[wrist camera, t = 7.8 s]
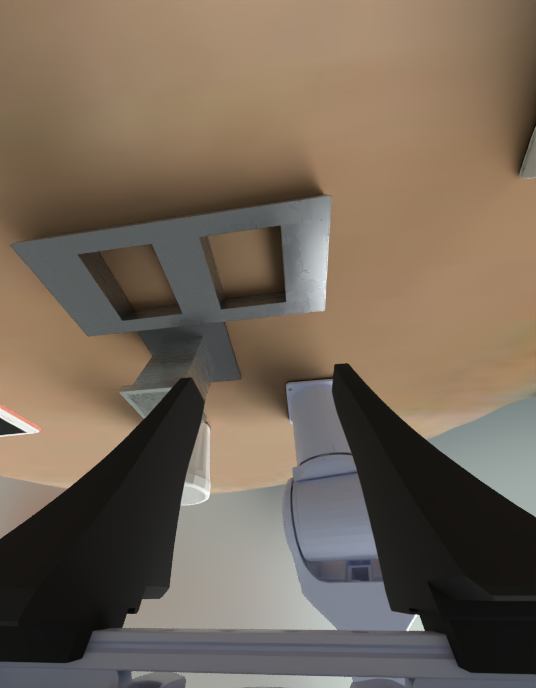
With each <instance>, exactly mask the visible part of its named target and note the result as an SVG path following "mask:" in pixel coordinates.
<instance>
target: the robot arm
mask: <svg viewBox="0 0 536 688" xmlns="http://www.w3.org/2000/svg"><path fill="white" fill-rule="evenodd" d="M286 392H287V401H288V411H289V420H290V423H291V424H293V430H294V439H295V449H296V458H297V467H293V468H292V469H293V478H290V479H289V480H288V482H287V484H286V487H285V489H284V492H283V498H282V514H283V515H282V516H283V524H284V531H285V536H286V539H287V543H288V546H289V549H290V551H291V552H292V555H293V559H294V562H295V566H296V570H297V574H298V579H299V582H300V584H301V588H302V593H303V594H304V596H305V597H306V598H307V599H308V600H309V601H310V602H311V604H313V606H314V607H315V608H316V609H317V610H318V611H319V612H320V613H322V614H323V615H324V616H325V617H326V618H327V619H328V620H329V621H330V622H331V623H332V624H333V625H334V626H335V627H336V629H337V630H267V629H265V630H264V629H263V630H261V629H156V628H154V629H153V628H148V629H147V628H146V629H145V628H122V627H123V624H124V621H125V618H126V615H127V614H136V613H137V612H138V610H139V607H140V604H141V600H142V599H160V598H161V597H162V596H163V595H164V594H165V593H166V592H167V590H168V589H169V587H170V577H171V568H172V559H173V551H174V550H173V549H174V543H175V536H176V530H177V522H178V516H179V511H180V505H181V499H182V494H183V489H184V484H185V478H186V474H187V470H188V466H189V462H190V459H191V456H192V452H193V449H194V445H195V442H196V439H197V435H198V432H199V428H200V425H201V421H202V416H203V410H204V403H205V401H204V399H203V397H202V395H201V393H200V391H199V390H198V388H197V386H196V384H195V382H194V380H193V378H192V377H188V378H180V379H179V380H178V381H177V383H176V384H175V385H174V386H173V387H172V388H171V389H170V391H169V392H168V393H167V394H166V395H165V396H164V397H163V399H162V400H161V401H160V402H159V403H158V404H157V405H156V406H155V408H154V409H153V410H152V411H151V412H150V413H149V414H148V415H147V416H146V418H145V419H144V420H143V421H142V422H141V423H140V424H139V425H138V426H137V427H136V428H135V429H134V430H133V431H132V432H131V433H130V434H129V435H128V436H127V437H126V438H125V439H124V440H123V441H122V442H121V443H120V444H119V445H118V446H117V447H116V448H115V449H114V450H113V451H112V452H110V453H109V454H108V455H107V456H106V457H105V458H104V459H103V460H102V461H101V462H99V463H98V464H97V465H96V466H95V467H93V468H92V469H91V470H90V471H89V472H88V473H86V474H85V475H84V476H83V477H82V478H80V479H79V480H78V481H77V482H76V483H74V484H73V485H72V486H71V487H70V488H68V489H67V490H66V491H65V492H63V493H62V494H61V495H59V496H58V497H57V498H56V499H54V500H53V501H52V502H50V503H49V504H48V505H46V506H45V507H44V508H42V509H41V510H40V511H39V512H37V513H36V514H35V515H33V516H32V517H30V518H29V519H28V520H26V521H25V522H23V523H22V524H21V525H19V526H18V527H16V528H15V529H14V530H12V531H11V532H9V533H8V534H7V535H5V536H4V537H2V538H1V539H0V688H185V684H186V679H185V677H184V676H181V675H179V674H176V673H173V672H192V673H230V674H267V675H306V676H344V677H352V679H353V683H352V684H351V687H350V688H536V517H534V516H533V515H531V514H530V513H528V512H527V511H525V510H523V509H522V508H520V507H518V506H517V505H515V504H514V503H512V502H511V501H509V500H508V499H506V498H505V497H504V496H502V495H501V494H499V493H498V492H496V491H495V490H493V489H491V488H490V487H489V486H487V485H486V484H484V483H483V482H482V481H480V480H479V479H477V478H476V477H475V476H473V475H472V474H471V473H469V472H468V471H466V470H465V469H464V468H462V467H461V466H460V465H458V464H457V463H455V462H454V461H453V460H451V459H450V458H449V457H447V456H446V455H445V454H443V453H442V452H440V451H439V450H438V449H437V448H436V447H434V446H433V445H432V444H430V443H429V442H428V441H427V440H426V439H424V438H423V437H422V436H421V435H419V434H418V433H417V432H416V431H415V430H413V429H412V428H411V427H410V426H409V425H408V424H407V423H405V422H404V421H403V420H402V419H401V418H400V417H399V416H398V415H397V414H396V413H395V412H393V411H392V410H391V409H390V408H389V407H388V406H387V405H386V404H385V403H384V402H383V401H382V400H381V399H380V398H379V397H378V396H377V395H376V394H375V393H374V392H373V391H372V390H371V389H370V388H369V386H368V385H367V384H366V383H365V382H364V381H363V380H362V379H361V378H360V377H359V375H358V374H357V373H356V372H355V371H354V370H353V369H352V367H351V366H350V365H349V364H348V363H345V364H335V365H334V374H333V379H325V380H313V381H301V382H289V383H287V384H286ZM417 615H420V618H421V621H422V624H423V626H424V629H425V631H408V629H409V627H410V626H411V624H412V623H413V621H414V619H415V617H416V616H417ZM131 671H153V673H150V674H147V675H143V676H140V677H137V678H134V679H132V677H131ZM246 688H280V687H246Z"/></svg>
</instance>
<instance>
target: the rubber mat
mask: <svg viewBox="0 0 536 688" xmlns="http://www.w3.org/2000/svg"><path fill="white" fill-rule="evenodd" d="M137 332H138V334H139V335H140V337H141V338H142V340H143V341H144V343H145V344H146V346H147V348H148V349H149V351H150V352H151V354H152V355H153V354H154V353H155V351H156V350H157V349H158V347H159V346H160V344H161V343H162V341H163V340H172V339H182V338H191V337H201V336H203V337H204V339H205V342H206V344H207V347H208V349H209V352H210V354H211V357H212V359H213V362H214V364H215V369H214V372H213V376H212V379H211V382H218V381H230V380H241V375H240V371H239V368H238V365H237V362H236V358H235V355H234V352H233V349H232V345H231V342H230V339H229V335H228V332H227V329H226V326H225V322H215V323H206V324H197V325H188V326H179V327H170V328H161V329H151V330H142V331H137Z"/></svg>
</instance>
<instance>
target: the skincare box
mask: <svg viewBox="0 0 536 688" xmlns="http://www.w3.org/2000/svg"><path fill="white" fill-rule="evenodd" d="M519 176H520V177H521V178H525V179H529V178H536V127H535V130H534V132H533V135H532V137H531V141H530V143H529V147H528V149H527V152H526V156H525V158H524V162H523V165H522V167H521V170H520V174H519Z"/></svg>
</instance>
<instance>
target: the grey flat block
mask: <svg viewBox="0 0 536 688" xmlns="http://www.w3.org/2000/svg"><path fill="white" fill-rule="evenodd" d="M330 212H331V195H326V194H322V195H316V196H309V197H303V198H296V199H290V200H283V201H277V202H270V203H263V204H257V205H250V206H244V207H237V208H231V209H224V210H217V211H211V212H204V213H198V214H191V215H185V216H178V217H172V218H165V219H158V220H152V221H145V222H139V223H132V224H126V225H119V226H112V227H106V228H99V229H93V230H86V231H80V232H73V233H67V234H60V235H53V236H47V237H40V238H34V239H30V240H26V241H21V242H17V243H12V244H10V246H11V247H12V248H13V249H14V250H15V252H16V253H17V254H18V255H19V256H20V257H21V259H22V260H23V261H24V262H25V263H26V264H27V266H28V267H29V268H30V269H31V270H32V271H33V273H34V274H35V275H36V276H37V277H38V279H39V280H40V281H41V282H42V283H43V284H44V286H45V287H46V288H47V289H48V290H49V291H50V293H51V294H52V295H53V296H54V297H55V299H56V300H57V301H58V302H59V303H60V304H61V306H62V307H63V308H64V309H65V310H66V311H67V313H68V314H69V315H70V316H71V317H72V319H73V320H74V321H75V322H76V323H77V324H78V326H79V327H80V328H81V329H82V330H83V331H84V333H85V334H86V335H87V336H96V335H106V334H115V333H124V332H133V331H142V330H151V329H161V328H170V327H179V326H188V325H197V324H206V323H215V322H225V321H234V320H243V319H252V318H261V317H270V316H280V315H289V314H298V313H307V312H316V311H325V297H326V280H327V263H328V246H329V229H330ZM273 226H280V234H281V247H282V260H283V274H284V287H285V292H281V293H273V294H264V295H256V296H247V297H239V298H231V299H225V298H224V294H223V290H222V287H221V283H220V280H219V276H218V273H217V269H216V265H215V262H214V258H213V255H212V251H211V248H210V244H209V240H208V237H207V236H210V235H217V234H224V233H231V232H238V231H245V230H252V229H259V228H266V227H273ZM147 244H152V246H153V248H154V250H155V252H156V255H157V257H158V259H159V261H160V264H161V266H162V268H163V270H164V273H165V275H166V277H167V279H168V282H169V284H170V286H171V288H172V291H173V293H174V295H175V297H176V300H177V302H178V304H179V305H171V306H163V307H154V308H146V309H137V310H134V309H133V307H132V306H131V304H130V302H129V301H128V299H127V297H126V296H125V294H124V293H123V291H122V289H121V288H120V286H119V284H118V283H117V281H116V279H115V278H114V276H113V274H112V273H111V271H110V270H109V268H108V266H107V265H106V263H105V261H104V260H103V258H102V256H101V255H100V253H99V252H98V251H105V250H112V249H119V248H126V247H133V246H140V245H147Z"/></svg>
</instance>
